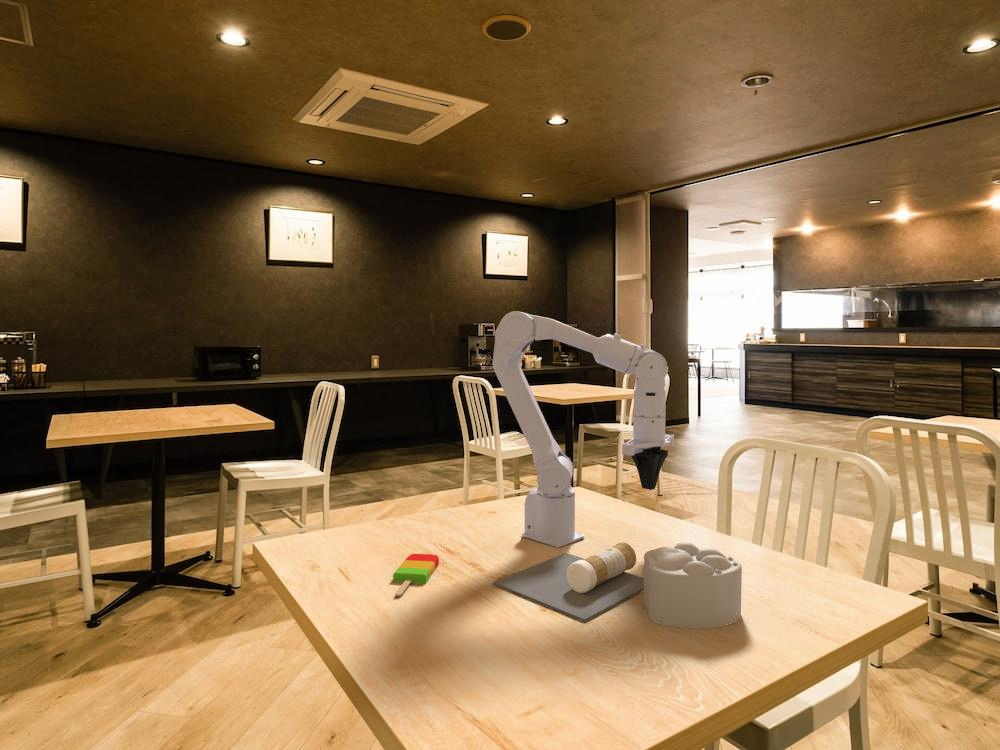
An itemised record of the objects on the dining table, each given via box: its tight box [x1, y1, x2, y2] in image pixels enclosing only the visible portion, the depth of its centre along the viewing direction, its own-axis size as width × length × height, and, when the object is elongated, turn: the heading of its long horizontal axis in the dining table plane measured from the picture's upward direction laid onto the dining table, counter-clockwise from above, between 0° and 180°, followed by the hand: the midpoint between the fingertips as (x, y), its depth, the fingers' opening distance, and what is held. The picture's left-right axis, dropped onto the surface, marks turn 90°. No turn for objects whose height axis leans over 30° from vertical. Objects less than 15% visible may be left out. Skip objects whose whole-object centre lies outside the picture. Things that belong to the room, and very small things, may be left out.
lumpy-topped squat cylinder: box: [642, 541, 743, 629], centre depth 87 cm, size 10×13×9 cm
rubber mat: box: [492, 552, 644, 623], centre depth 96 cm, size 18×18×1 cm
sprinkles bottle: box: [566, 542, 637, 593], centre depth 97 cm, size 5×5×14 cm
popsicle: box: [392, 553, 440, 597], centre depth 99 cm, size 6×15×2 cm, turn 171°
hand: (648, 488), depth 114 cm, fingers closed
